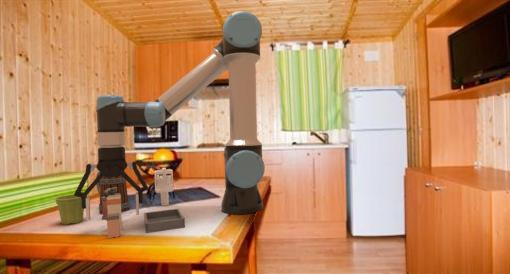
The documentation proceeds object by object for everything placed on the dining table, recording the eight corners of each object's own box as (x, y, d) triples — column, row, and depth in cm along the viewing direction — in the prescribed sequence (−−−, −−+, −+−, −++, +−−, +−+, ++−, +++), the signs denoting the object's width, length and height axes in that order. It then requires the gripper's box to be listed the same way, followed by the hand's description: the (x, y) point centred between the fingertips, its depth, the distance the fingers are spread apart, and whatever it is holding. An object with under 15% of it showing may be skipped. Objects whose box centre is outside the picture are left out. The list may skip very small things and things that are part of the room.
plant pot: (48, 225, 101) (47, 198, 100) (74, 217, 109) (73, 193, 109) (69, 227, 97) (68, 199, 97) (94, 219, 106) (93, 194, 106)
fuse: (122, 226, 96) (121, 194, 96) (122, 229, 93) (120, 196, 92) (108, 228, 95) (107, 195, 95) (108, 231, 91) (106, 197, 91)
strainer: (156, 207, 120) (155, 169, 119) (155, 204, 126) (153, 167, 126) (175, 205, 122) (173, 167, 122) (172, 202, 129) (171, 166, 129)
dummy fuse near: (120, 233, 89) (119, 212, 89) (120, 236, 86) (119, 215, 86) (108, 235, 88) (107, 214, 88) (107, 238, 85) (106, 217, 85)
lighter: (108, 219, 104) (107, 190, 104) (99, 219, 105) (98, 190, 105) (123, 213, 112) (121, 186, 112) (114, 213, 113) (113, 186, 113)
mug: (135, 209, 119) (133, 170, 119) (109, 215, 110) (107, 173, 110) (111, 205, 127) (109, 169, 127) (85, 211, 118) (84, 172, 118)
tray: (178, 216, 106) (178, 208, 105) (185, 227, 93) (184, 218, 92) (144, 220, 101) (144, 212, 101) (146, 232, 88) (145, 223, 88)
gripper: (154, 144, 101) (155, 209, 102) (66, 147, 92) (68, 218, 92) (155, 145, 94) (157, 214, 95) (61, 148, 85) (63, 225, 85)
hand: (113, 216), depth 94 cm, fingers open, 13 cm apart
